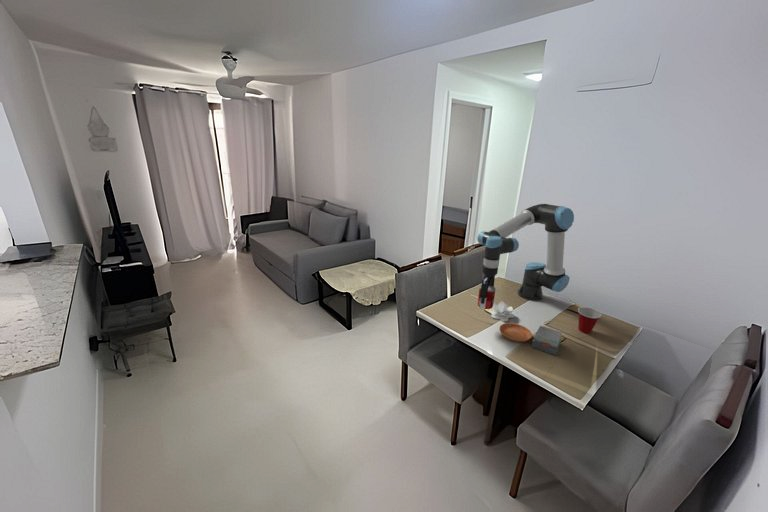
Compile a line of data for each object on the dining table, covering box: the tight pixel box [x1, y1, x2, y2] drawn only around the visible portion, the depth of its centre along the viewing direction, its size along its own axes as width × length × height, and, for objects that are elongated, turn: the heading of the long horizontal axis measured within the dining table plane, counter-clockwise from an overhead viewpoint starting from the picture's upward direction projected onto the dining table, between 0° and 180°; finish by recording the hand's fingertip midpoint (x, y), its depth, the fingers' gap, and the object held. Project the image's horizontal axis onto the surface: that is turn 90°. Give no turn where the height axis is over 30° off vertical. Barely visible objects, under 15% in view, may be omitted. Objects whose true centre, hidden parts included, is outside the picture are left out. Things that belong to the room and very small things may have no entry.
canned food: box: [477, 284, 496, 310], centre depth 162 cm, size 8×8×11 cm
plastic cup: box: [577, 306, 602, 334], centre depth 165 cm, size 11×11×12 cm
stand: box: [531, 325, 563, 356], centre depth 151 cm, size 13×11×7 cm
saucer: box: [499, 322, 533, 343], centre depth 160 cm, size 16×16×3 cm
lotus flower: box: [487, 300, 516, 322], centre depth 179 cm, size 14×15×9 cm
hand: (485, 305), depth 164 cm, fingers closed on canned food, 8 cm apart
